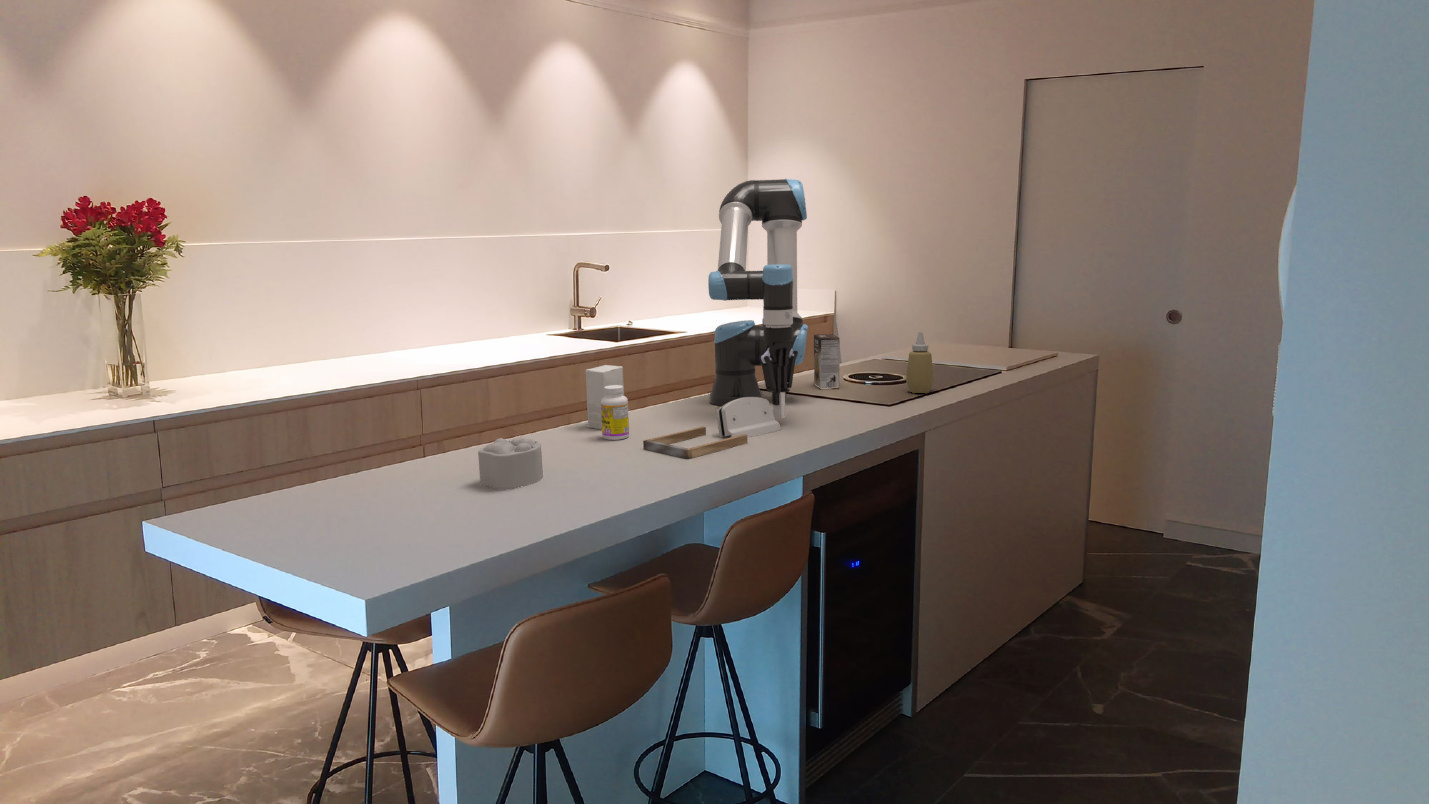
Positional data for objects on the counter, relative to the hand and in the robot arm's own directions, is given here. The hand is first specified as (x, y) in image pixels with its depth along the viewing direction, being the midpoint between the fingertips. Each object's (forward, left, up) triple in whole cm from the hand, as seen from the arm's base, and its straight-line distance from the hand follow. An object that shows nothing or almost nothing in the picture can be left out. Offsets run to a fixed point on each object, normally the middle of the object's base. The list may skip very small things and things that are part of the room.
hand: (779, 416), depth 247 cm
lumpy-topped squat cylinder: (-8, -75, -2) cm, 76 cm away
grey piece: (0, -12, -2) cm, 12 cm away
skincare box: (-34, -29, -2) cm, 45 cm away
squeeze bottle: (+4, +60, -2) cm, 60 cm away
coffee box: (-24, +51, -2) cm, 56 cm away
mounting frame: (0, -30, -2) cm, 30 cm away
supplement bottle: (-22, -36, -2) cm, 43 cm away
